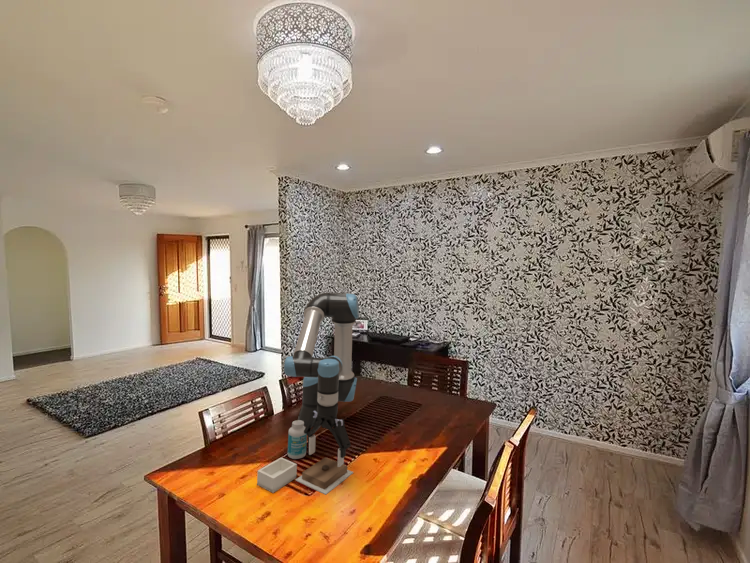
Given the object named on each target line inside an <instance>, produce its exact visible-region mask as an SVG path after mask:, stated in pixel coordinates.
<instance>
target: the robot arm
mask: <svg viewBox="0 0 750 563" xmlns="http://www.w3.org/2000/svg"><path fill="white" fill-rule="evenodd" d="M359 317H360V308H359V299H358V296H357V295H356V294H354V293H349V292H344V293H342V292H322V293H319V294H317V295H315V296H314V297H313V298H311V299H310V301H309V302H308V303H307V304H306V306H305V307H304V312H303V322H302V325H301V328H300V331H299V335H298V339H297V342H296V345H295V348H294V352H293V355H291V356H287V357H286V358H285V359H284V363H283V371H284V375H285V376H287V377H295V378H296V377H297V378H298V377H299V378H300V377H301V378H303V379H302V400H301V401H302V403H301V407H300V410H299V414H298V416H297V417H298V418H297V420H301V421H304V427H306V428H305V430H304V433H305V434H307V444H308V455H309V456H311V455H312V454H314V453H316V439H317V438H316V436H317V435H316V434H315V433H316V432H317V431H318V430H319V429H320V428H324V429H326V430H328V431H329V432H330V433H331V434H332V435H333V437H334V440H335V441H336V443H337V446H338V449H337V462H338V464H337V467H340V466H341V465H343V464H344V465H345V457H346V454H347V453H346V452H347V449H349V448H350V447H352V444H351V441H350V438H349V435H348V432H347V430H346V425H345V418H341V419H338V416H337V415H338V412H339V410H338V409H339V403H338V402H343V403H345V402H352V401H354V398H355V394H356V388H357V381H358V378H357V377H355V373H354V372H353V371H352V359H353V358H352V356H353V355H352V353H353V325H354V324H355V323H356V322H357V319H359ZM324 318H331V322H332V323H333V325H334V346H333V347H334V349H333V350H334V352H333V355H330V356H328V357H313V355H314V352H315V347H316V342H317V339H318V336H319V335H318V334H319V332H320V327H321V322H322V321H323V320H324Z"/></svg>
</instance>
